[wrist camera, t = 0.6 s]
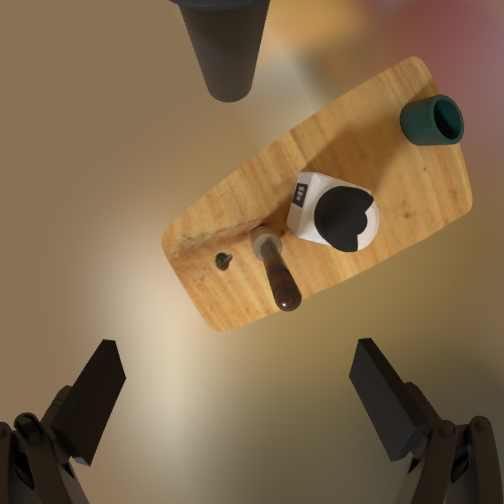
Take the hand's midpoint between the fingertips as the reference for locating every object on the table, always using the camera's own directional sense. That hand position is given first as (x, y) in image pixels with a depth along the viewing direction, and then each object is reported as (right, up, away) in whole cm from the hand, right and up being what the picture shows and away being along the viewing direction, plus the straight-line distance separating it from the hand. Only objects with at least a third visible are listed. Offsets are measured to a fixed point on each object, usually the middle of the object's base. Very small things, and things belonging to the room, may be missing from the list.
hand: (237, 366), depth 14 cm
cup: (+27, +26, +21) cm, 43 cm away
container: (+10, +12, +24) cm, 29 cm away
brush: (+2, +8, +25) cm, 26 cm away
